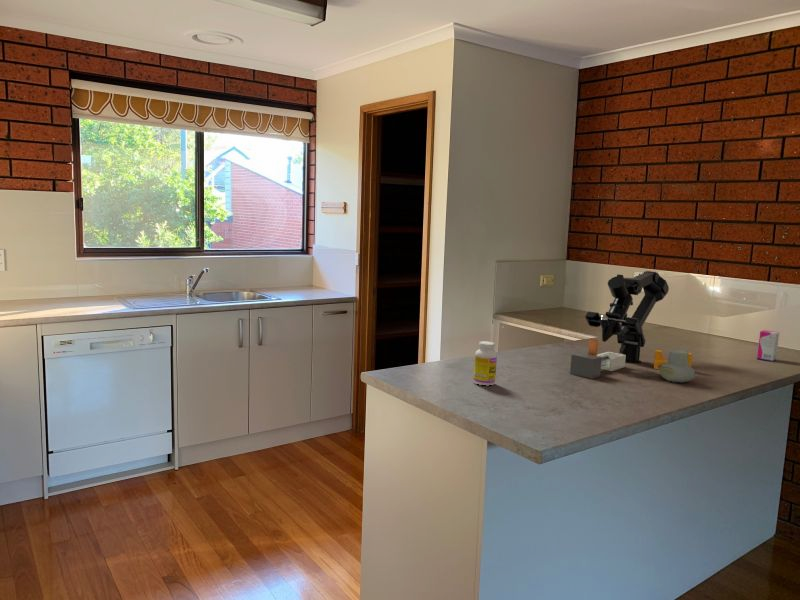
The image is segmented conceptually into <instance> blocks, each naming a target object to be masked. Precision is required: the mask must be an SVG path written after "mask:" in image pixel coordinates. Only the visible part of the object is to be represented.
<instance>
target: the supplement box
mask: <svg viewBox="0 0 800 600" xmlns="http://www.w3.org/2000/svg"><path fill="white" fill-rule="evenodd" d="M779 337H780V331H772V330H760V332H759V338H758V339H759V340H758V346H757V347H758V348H757V356H756V359H757V360H760V361H765V362H772V363H774V362H775V361H777V354H778V346H779V339H780V338H779Z"/></svg>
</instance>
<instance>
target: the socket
mask: <svg viewBox="0 0 800 600" xmlns="http://www.w3.org/2000/svg"><path fill="white" fill-rule="evenodd" d="M601 360H602V357H600V356H595V355H590V354H588V353H584V352H577V353H573V354H571V358H570V368H569V369H570V370H569V374H570V375H573V376H579V377H583V378H587V379H591V380H593V379H596V378H598V377H599V378H600V377H601V371H602V369H601Z"/></svg>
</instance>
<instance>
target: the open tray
mask: <svg viewBox="0 0 800 600" xmlns="http://www.w3.org/2000/svg"><path fill="white" fill-rule="evenodd" d="M604 355H607V356H608V357H609V358H610V364H609V365H606V366H603V367H601V370H605V371H610V372H613V371H617V370H619V369H622V368H625V366H626V362H625V359H626V355H624V354H619V352H618V353H617V352H612V351H606V352H602V353H599V354H598V353H597V356H604Z"/></svg>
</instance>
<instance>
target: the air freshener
mask: <svg viewBox="0 0 800 600" xmlns="http://www.w3.org/2000/svg"><path fill="white" fill-rule="evenodd" d="M689 353H690V352H688V351H686V350H683V349H681V350H680V349H670V350H669V351H668V360H667V361H668V362H666V363H664V364H662V365H661V366H660V368H659V370H658V373H659V375H660V376H661V377H662V378H663V379H665V380H666V381H667V380H668V382H670V381H672V382H671V383H677V382H680V383H679V384H681V383H687V382H690V381H692V380H693V379H694V378H695V377H696V376H695V375H696V372H695V370H694V368H693V367H692V365H691V366H689V365H688V355H689Z"/></svg>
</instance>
